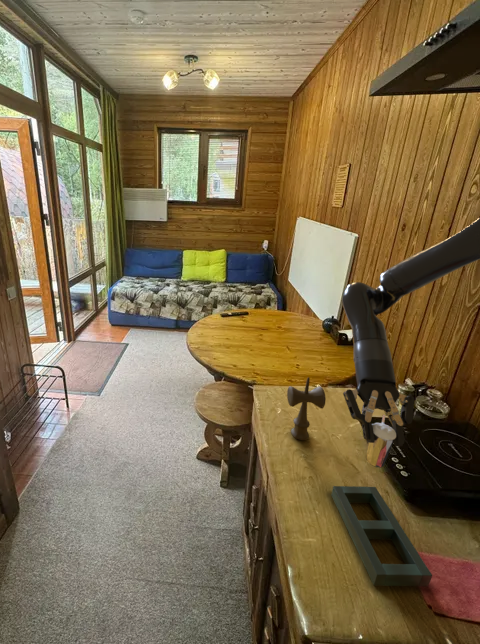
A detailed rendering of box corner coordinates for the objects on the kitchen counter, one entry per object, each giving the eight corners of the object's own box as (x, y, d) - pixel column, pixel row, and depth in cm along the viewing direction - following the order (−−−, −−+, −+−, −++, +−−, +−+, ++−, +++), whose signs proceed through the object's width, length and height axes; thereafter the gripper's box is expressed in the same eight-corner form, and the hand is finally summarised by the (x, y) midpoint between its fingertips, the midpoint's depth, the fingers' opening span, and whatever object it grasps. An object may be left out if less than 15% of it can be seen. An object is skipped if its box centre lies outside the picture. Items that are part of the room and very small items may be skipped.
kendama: (319, 443, 89) (330, 383, 83) (285, 442, 89) (294, 382, 83) (312, 429, 95) (322, 372, 89) (280, 427, 95) (288, 371, 89)
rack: (372, 496, 73) (375, 486, 72) (428, 586, 56) (432, 575, 55) (331, 495, 73) (333, 485, 72) (373, 585, 56) (377, 574, 55)
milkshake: (386, 455, 68) (396, 418, 64) (388, 473, 63) (399, 434, 60) (362, 448, 69) (372, 411, 66) (363, 465, 65) (373, 426, 62)
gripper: (345, 355, 68) (354, 438, 60) (416, 361, 66) (434, 448, 58) (334, 364, 74) (341, 441, 67) (398, 370, 72) (412, 449, 65)
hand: (384, 443), depth 63 cm, fingers closed on milkshake, 4 cm apart
